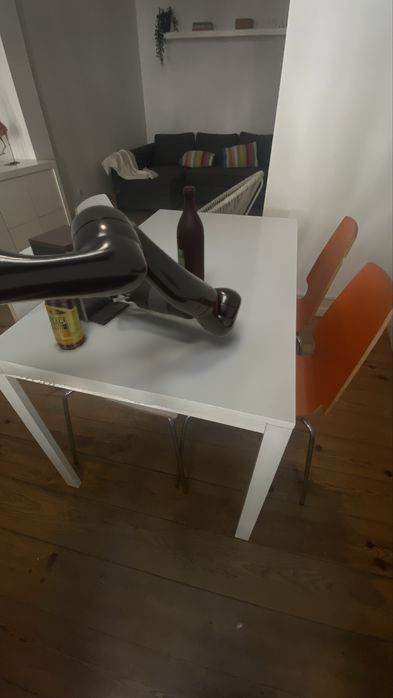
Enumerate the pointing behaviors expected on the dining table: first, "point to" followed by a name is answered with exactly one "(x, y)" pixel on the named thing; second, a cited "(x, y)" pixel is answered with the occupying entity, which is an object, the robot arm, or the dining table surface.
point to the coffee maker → (87, 308)
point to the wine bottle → (190, 236)
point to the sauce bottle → (65, 322)
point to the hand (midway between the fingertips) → (101, 282)
